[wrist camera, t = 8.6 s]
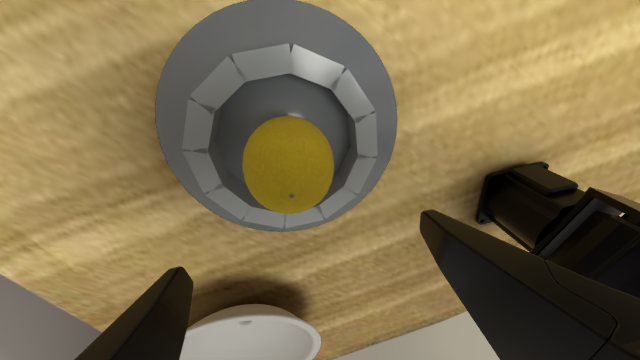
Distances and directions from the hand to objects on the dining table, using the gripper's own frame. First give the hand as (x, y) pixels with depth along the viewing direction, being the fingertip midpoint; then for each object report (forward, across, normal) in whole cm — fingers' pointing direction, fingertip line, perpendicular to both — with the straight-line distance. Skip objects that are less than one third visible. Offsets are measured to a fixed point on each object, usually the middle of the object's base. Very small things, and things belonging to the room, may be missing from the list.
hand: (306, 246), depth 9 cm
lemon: (+11, 0, 0) cm, 11 cm away
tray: (+12, 0, 0) cm, 12 cm away
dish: (+12, +10, +21) cm, 26 cm away
